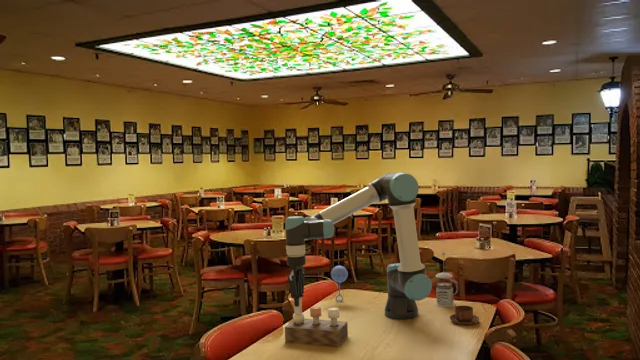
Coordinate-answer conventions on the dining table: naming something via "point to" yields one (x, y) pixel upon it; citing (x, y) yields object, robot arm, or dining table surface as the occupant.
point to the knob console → (316, 333)
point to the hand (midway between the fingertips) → (298, 313)
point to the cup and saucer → (464, 315)
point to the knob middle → (315, 314)
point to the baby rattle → (339, 277)
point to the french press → (445, 290)
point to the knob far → (298, 318)
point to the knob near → (333, 316)
